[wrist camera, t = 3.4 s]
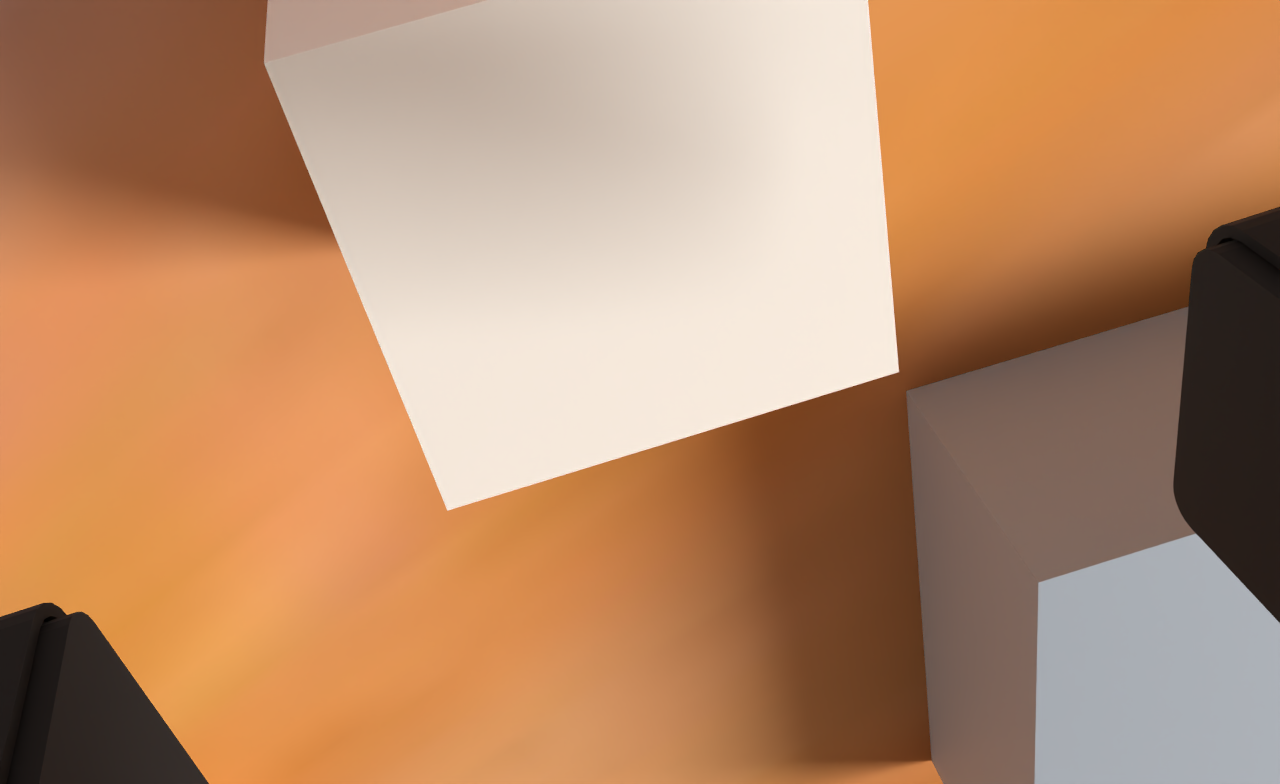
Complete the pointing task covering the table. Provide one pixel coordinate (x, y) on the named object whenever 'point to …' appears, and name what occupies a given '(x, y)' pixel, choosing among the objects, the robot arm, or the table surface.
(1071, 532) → the base box
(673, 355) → the cream matte cube
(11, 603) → the table surface
